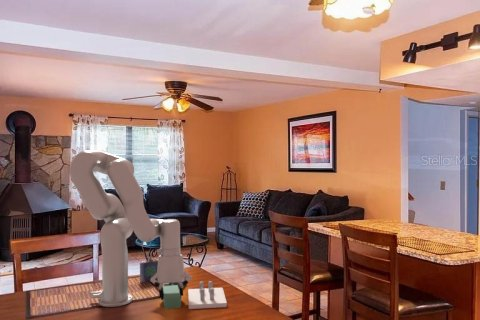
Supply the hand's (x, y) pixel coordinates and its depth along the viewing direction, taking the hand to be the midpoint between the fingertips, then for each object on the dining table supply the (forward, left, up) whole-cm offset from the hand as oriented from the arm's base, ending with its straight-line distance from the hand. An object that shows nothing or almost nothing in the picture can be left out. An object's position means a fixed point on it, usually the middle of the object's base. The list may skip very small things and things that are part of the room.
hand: (171, 297), depth 160 cm
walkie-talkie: (+1, +18, -2) cm, 18 cm away
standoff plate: (+14, 0, -1) cm, 14 cm away
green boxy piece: (0, 0, -1) cm, 1 cm away
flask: (-10, +28, -2) cm, 30 cm away
